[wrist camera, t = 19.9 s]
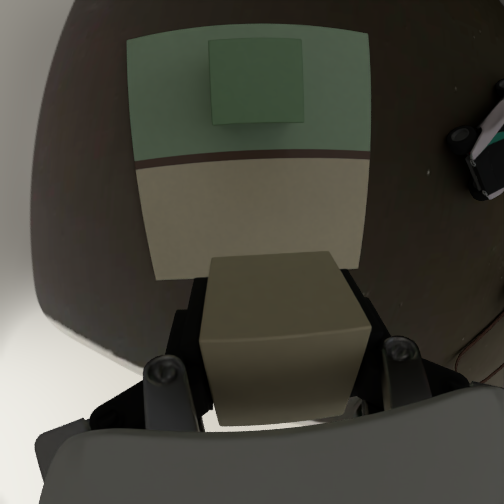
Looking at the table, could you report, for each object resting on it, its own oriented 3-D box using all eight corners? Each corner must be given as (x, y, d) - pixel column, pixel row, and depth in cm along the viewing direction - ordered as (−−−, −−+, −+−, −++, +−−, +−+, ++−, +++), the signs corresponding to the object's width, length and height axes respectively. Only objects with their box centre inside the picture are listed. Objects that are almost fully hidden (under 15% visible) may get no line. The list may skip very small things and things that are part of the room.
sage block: (217, 122, 17) (211, 125, 13) (214, 56, 15) (207, 40, 11) (289, 120, 17) (304, 123, 13) (287, 54, 15) (302, 38, 11)
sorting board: (157, 277, 22) (155, 280, 22) (128, 41, 14) (126, 40, 14) (356, 266, 23) (358, 268, 22) (365, 34, 14) (368, 33, 14)
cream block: (222, 343, 13) (219, 427, 9) (211, 256, 11) (198, 341, 7) (319, 336, 13) (343, 415, 9) (329, 249, 11) (373, 326, 7)
